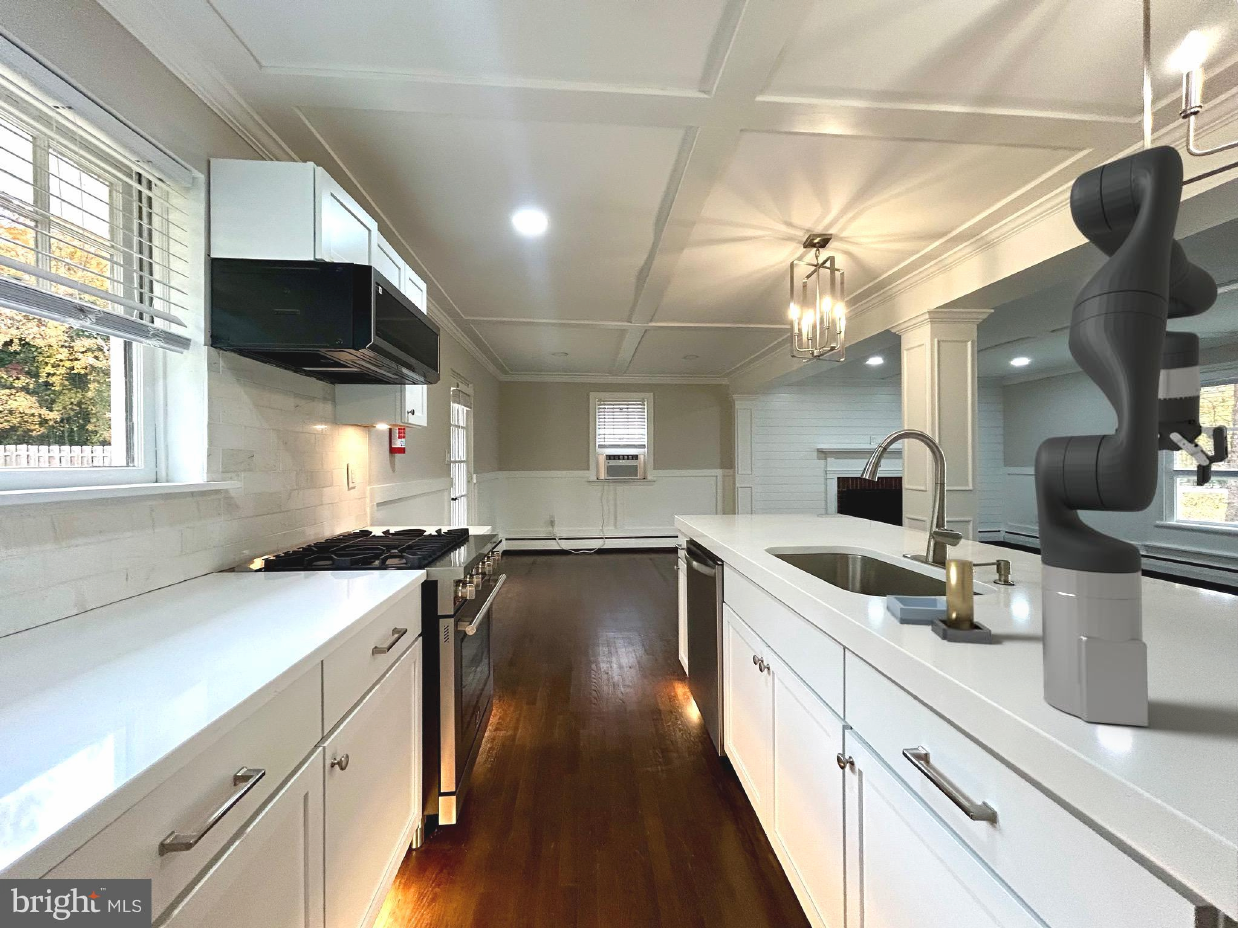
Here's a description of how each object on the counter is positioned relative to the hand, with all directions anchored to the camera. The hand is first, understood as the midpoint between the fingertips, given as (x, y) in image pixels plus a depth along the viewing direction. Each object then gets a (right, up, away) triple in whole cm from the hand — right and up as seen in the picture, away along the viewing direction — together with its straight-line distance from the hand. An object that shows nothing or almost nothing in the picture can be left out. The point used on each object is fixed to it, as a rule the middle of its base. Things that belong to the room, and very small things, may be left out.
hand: (1167, 483), depth 97 cm
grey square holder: (-40, -26, -4) cm, 48 cm away
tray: (-41, -26, +7) cm, 49 cm away
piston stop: (-40, -26, -4) cm, 48 cm away
